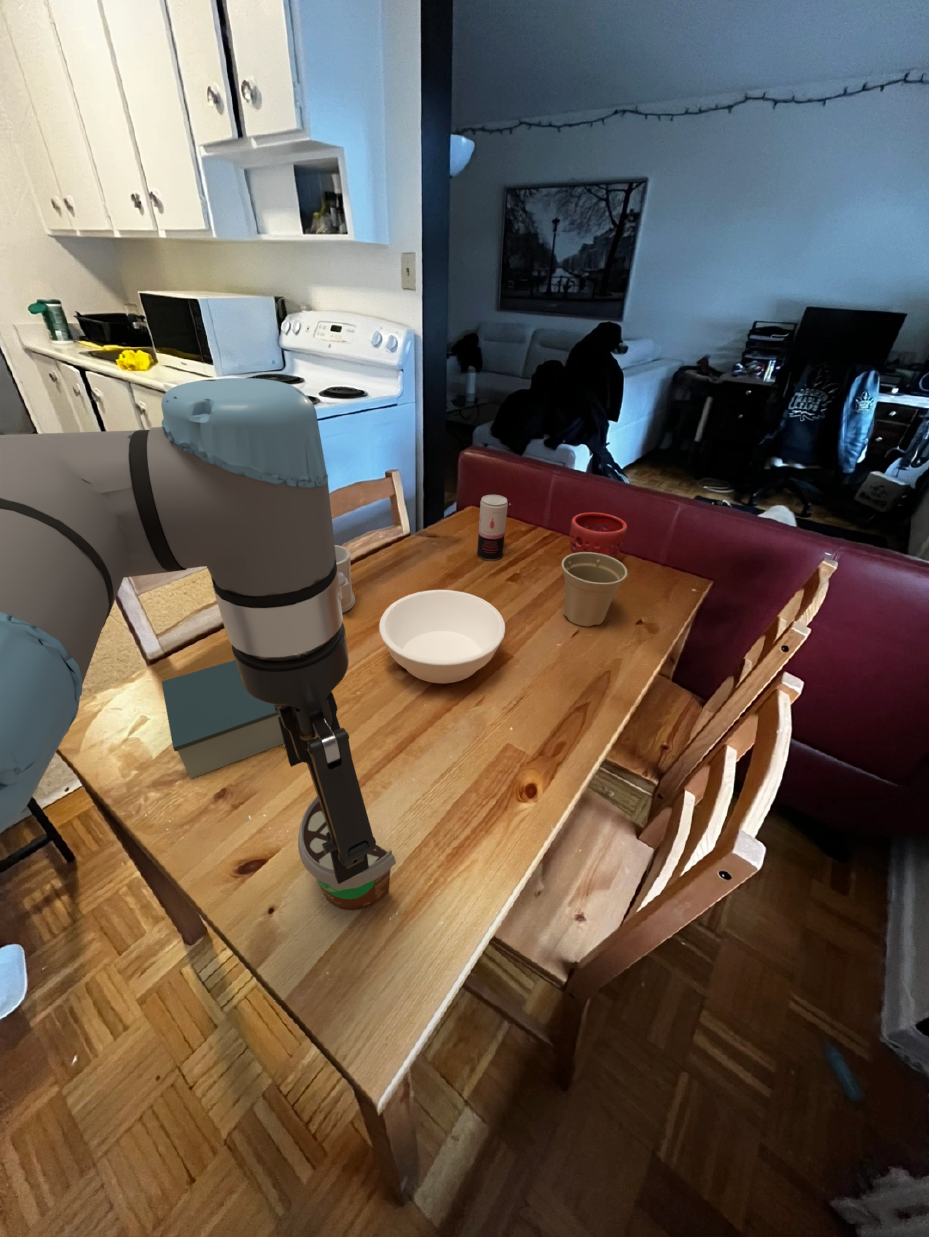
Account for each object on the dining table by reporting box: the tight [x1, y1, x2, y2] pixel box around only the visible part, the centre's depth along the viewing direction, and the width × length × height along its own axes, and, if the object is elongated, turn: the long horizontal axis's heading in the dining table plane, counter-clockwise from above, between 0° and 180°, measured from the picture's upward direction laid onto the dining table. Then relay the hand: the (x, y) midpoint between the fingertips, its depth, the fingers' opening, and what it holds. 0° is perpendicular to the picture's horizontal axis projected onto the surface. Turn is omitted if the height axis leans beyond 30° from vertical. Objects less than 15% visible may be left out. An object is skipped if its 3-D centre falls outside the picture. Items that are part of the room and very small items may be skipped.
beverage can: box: [476, 494, 509, 561], centre depth 124 cm, size 7×7×15 cm
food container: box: [297, 795, 396, 911], centre depth 56 cm, size 12×6×10 cm, turn 55°
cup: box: [335, 544, 356, 614], centre depth 103 cm, size 10×9×12 cm
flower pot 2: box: [560, 552, 628, 628], centre depth 104 cm, size 13×13×12 cm
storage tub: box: [161, 659, 285, 780], centre depth 76 cm, size 17×15×7 cm
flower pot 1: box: [569, 511, 628, 559], centre depth 123 cm, size 13×13×12 cm
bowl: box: [378, 589, 506, 684], centre depth 91 cm, size 22×22×8 cm
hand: (325, 810), depth 47 cm, fingers open, 13 cm apart
